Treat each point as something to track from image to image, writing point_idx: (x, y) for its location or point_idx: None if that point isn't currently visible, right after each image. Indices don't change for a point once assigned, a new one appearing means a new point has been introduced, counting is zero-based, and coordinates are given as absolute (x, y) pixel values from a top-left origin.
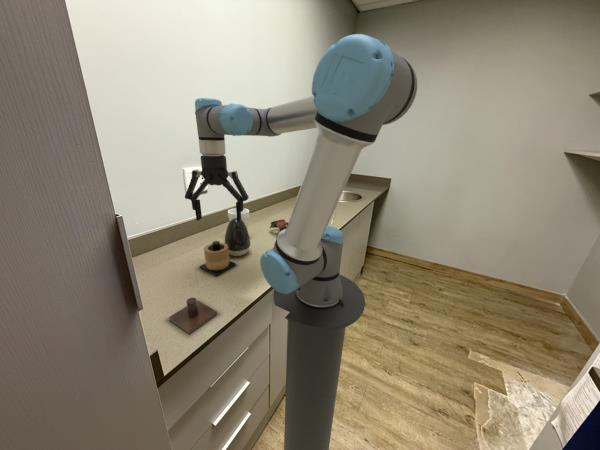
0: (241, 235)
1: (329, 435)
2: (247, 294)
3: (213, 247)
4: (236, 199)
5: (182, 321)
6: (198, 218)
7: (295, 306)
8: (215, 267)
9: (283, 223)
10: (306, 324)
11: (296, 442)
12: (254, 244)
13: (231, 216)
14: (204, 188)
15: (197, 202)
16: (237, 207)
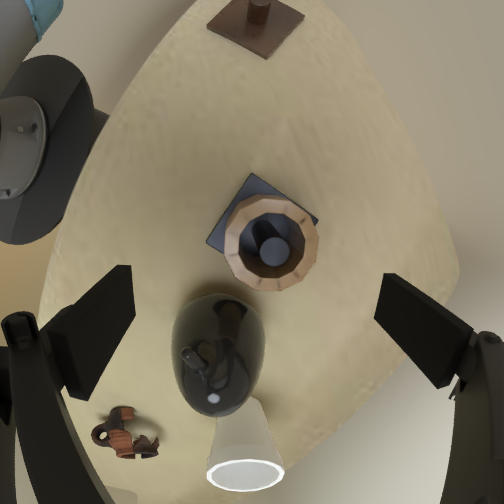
0: (187, 335)
1: None
2: (145, 96)
3: (280, 235)
4: (44, 359)
5: (271, 3)
6: (390, 278)
7: (54, 93)
8: (261, 194)
9: (113, 441)
10: (47, 55)
11: None
12: None
13: (264, 452)
14: (454, 466)
15: (449, 341)
16: (75, 309)
